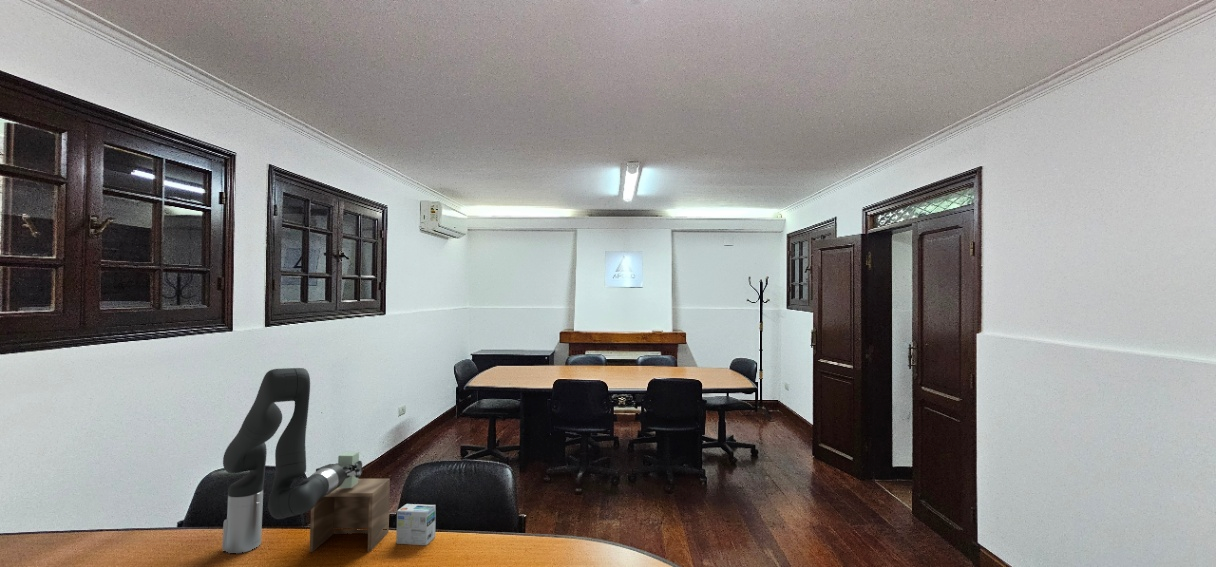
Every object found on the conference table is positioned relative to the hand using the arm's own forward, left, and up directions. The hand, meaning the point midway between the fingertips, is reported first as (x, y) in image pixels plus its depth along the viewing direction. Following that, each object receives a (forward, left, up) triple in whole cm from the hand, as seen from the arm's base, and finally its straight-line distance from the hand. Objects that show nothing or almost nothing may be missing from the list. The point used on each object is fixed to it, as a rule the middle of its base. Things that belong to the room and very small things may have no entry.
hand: (352, 463), depth 168 cm
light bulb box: (+21, +1, -26) cm, 33 cm away
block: (0, -3, -6) cm, 7 cm away
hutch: (0, +1, -25) cm, 25 cm away
